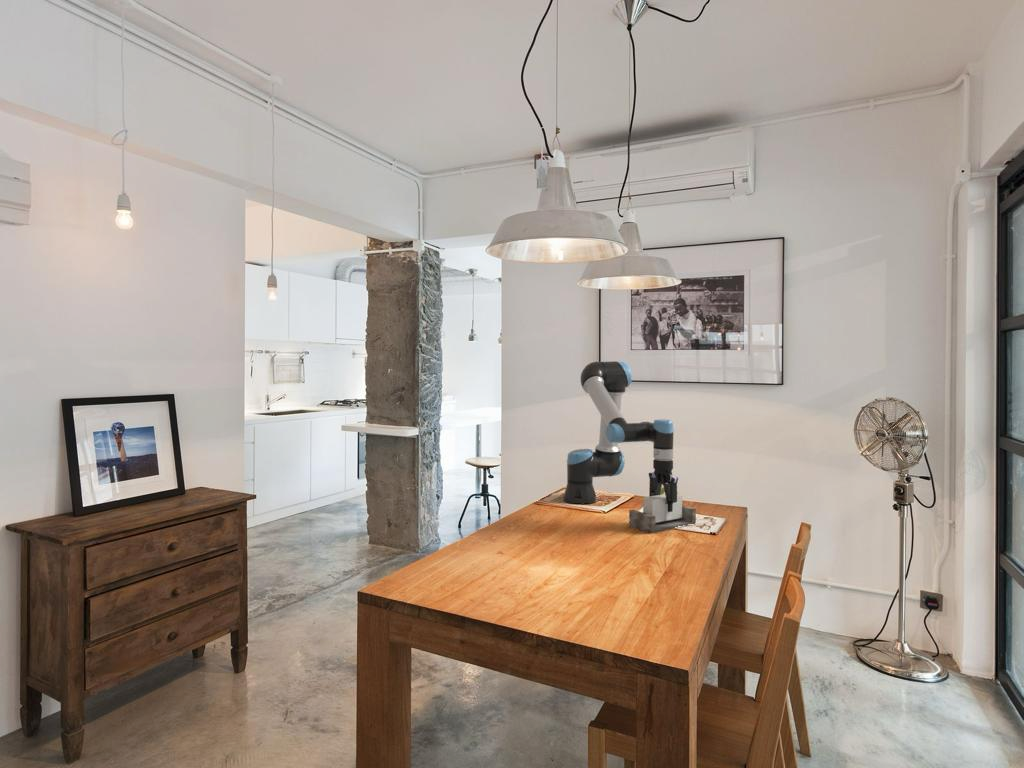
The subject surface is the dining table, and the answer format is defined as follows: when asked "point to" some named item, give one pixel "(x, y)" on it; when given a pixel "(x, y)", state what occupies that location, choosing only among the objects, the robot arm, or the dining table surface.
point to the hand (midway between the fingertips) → (662, 518)
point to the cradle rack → (649, 525)
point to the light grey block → (661, 507)
